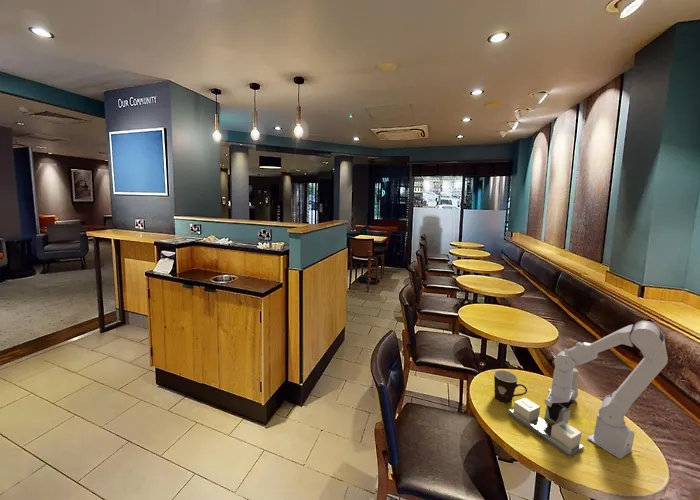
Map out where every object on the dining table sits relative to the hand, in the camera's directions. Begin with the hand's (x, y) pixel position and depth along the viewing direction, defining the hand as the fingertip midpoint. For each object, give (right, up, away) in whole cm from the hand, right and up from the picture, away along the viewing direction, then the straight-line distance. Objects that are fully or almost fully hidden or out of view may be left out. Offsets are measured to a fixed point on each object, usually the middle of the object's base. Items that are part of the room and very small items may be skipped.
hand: (556, 417), depth 117 cm
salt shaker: (+14, +1, +14) cm, 20 cm away
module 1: (-11, 0, +1) cm, 11 cm away
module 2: (-4, -2, -11) cm, 12 cm away
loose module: (0, -1, 0) cm, 1 cm away
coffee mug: (-13, +1, +11) cm, 17 cm away
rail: (-8, -2, -5) cm, 10 cm away
